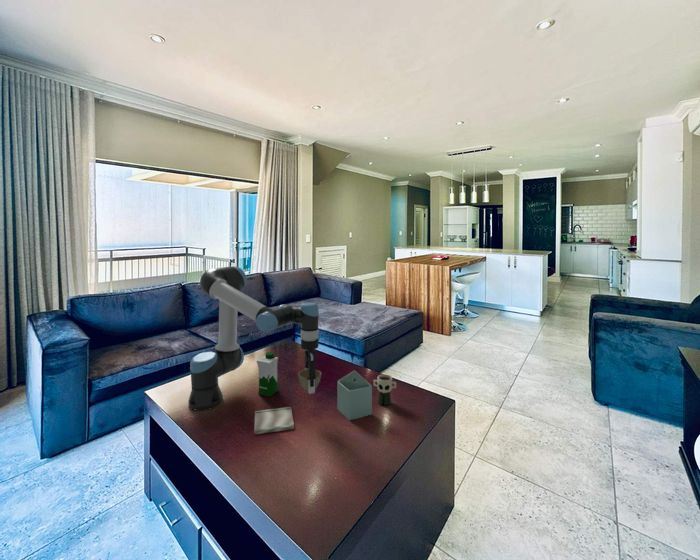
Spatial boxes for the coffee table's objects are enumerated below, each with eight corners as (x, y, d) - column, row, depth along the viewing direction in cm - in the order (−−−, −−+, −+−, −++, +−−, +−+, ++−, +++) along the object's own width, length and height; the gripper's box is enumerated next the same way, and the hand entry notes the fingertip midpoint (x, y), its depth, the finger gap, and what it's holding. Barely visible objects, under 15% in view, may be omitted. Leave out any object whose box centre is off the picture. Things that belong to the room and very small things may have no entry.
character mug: (371, 405, 157) (372, 379, 156) (374, 398, 164) (374, 373, 162) (395, 408, 155) (395, 381, 153) (396, 400, 162) (397, 375, 160)
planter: (331, 417, 147) (331, 374, 144) (337, 408, 155) (337, 367, 152) (367, 423, 142) (368, 379, 139) (371, 414, 150) (372, 372, 147)
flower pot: (317, 395, 140) (317, 379, 139) (295, 392, 142) (294, 377, 141) (323, 385, 150) (324, 370, 149) (302, 382, 152) (302, 367, 151)
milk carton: (280, 390, 172) (279, 353, 169) (270, 398, 164) (269, 359, 161) (266, 387, 175) (265, 350, 173) (255, 394, 167) (254, 356, 164)
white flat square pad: (254, 434, 134) (254, 431, 134) (255, 413, 149) (255, 411, 149) (294, 428, 138) (294, 425, 138) (291, 409, 153) (291, 406, 153)
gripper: (322, 346, 133) (322, 398, 136) (314, 330, 155) (314, 375, 158) (304, 348, 131) (304, 400, 134) (298, 331, 153) (298, 377, 156)
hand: (309, 387), depth 146 cm, fingers closed on flower pot, 10 cm apart
